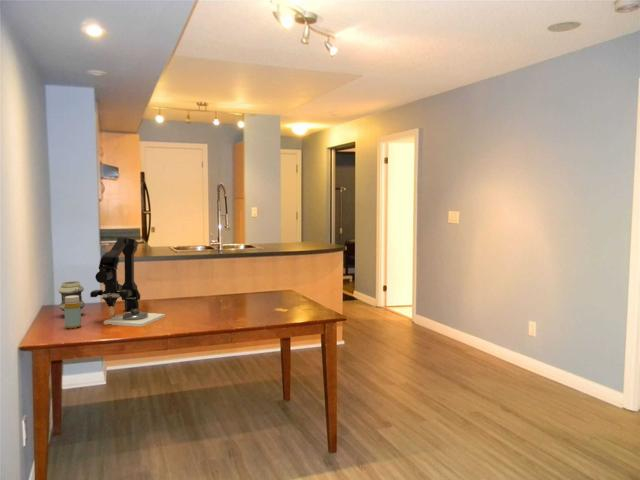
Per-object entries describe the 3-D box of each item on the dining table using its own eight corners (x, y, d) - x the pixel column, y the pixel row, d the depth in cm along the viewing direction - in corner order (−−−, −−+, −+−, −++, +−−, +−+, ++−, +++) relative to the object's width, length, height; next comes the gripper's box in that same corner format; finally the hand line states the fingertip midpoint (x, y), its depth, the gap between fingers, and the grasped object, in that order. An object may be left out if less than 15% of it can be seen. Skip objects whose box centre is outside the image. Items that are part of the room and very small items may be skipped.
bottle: (70, 329, 234) (69, 298, 233) (62, 327, 238) (60, 297, 237) (84, 326, 240) (83, 296, 239) (75, 324, 244) (74, 294, 243)
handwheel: (144, 313, 261) (144, 300, 260) (150, 317, 251) (150, 304, 250) (107, 317, 251) (106, 304, 250) (111, 322, 241) (111, 309, 240)
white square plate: (103, 324, 245) (103, 321, 245) (129, 314, 265) (129, 311, 265) (141, 326, 240) (141, 323, 240) (164, 316, 261) (164, 314, 260)
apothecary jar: (60, 314, 266) (59, 281, 264) (85, 312, 270) (84, 279, 269) (58, 319, 255) (56, 284, 253) (84, 317, 259) (83, 283, 258)
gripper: (135, 277, 256) (136, 306, 257) (99, 277, 256) (100, 306, 257) (126, 280, 245) (128, 311, 246) (89, 280, 245) (90, 311, 246)
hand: (111, 310), depth 249 cm, fingers closed
